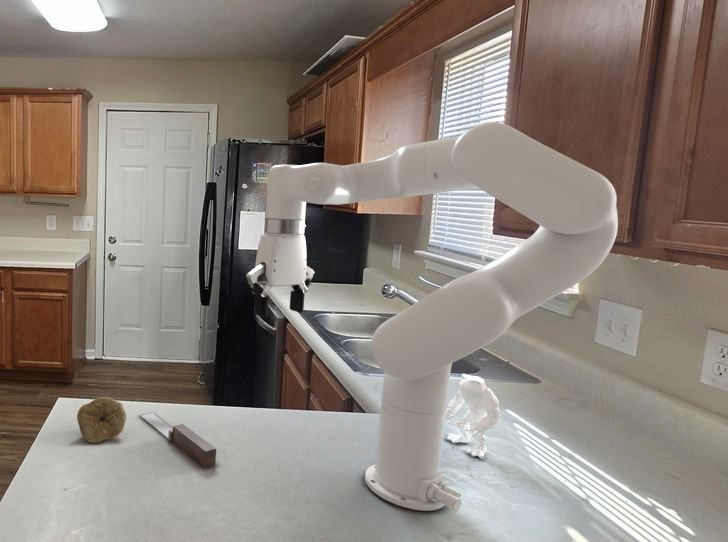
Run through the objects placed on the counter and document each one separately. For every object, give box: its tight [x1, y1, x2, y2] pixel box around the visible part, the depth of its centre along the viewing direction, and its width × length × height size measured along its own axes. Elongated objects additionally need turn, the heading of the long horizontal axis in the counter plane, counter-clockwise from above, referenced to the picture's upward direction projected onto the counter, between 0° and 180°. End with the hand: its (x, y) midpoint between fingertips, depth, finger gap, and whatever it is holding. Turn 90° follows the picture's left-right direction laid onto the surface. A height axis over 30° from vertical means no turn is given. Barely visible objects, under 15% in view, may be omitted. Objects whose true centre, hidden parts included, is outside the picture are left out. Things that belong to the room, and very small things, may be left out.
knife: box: [140, 412, 217, 469], centre depth 101 cm, size 23×3×3 cm, turn 30°
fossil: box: [76, 396, 127, 444], centre depth 102 cm, size 9×4×10 cm
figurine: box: [444, 373, 501, 460], centre depth 100 cm, size 11×7×15 cm, turn 7°
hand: (278, 313), depth 100 cm, fingers open, 9 cm apart
